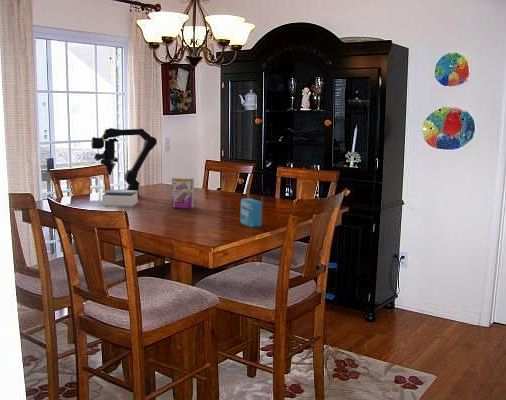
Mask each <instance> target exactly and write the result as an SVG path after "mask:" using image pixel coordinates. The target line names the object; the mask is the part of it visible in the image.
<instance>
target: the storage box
mask: <svg viewBox="0 0 506 400" xmlns="http://www.w3.org/2000/svg"><path fill="white" fill-rule="evenodd" d="M101 198H102V199H101V200H102V202H101V203H102V207H119V208H120V207H122V208H123V207H125V208H127V207H128V208H132V207H134V206H135V205H136V204H137V203H138V201H139V200H138V196H137V192H136V193H132V194H131V193H103V194H102V195H101Z"/></svg>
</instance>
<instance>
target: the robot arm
mask: <svg viewBox="0 0 506 400" xmlns="http://www.w3.org/2000/svg"><path fill="white" fill-rule="evenodd" d="M120 136H121V137H122V136H140V137H141V138H142V140H144V143H143V147H142V150H141V151H140V153H139V155H138V156H137V158H136V160H135V162H134V163H133V165H132V167H131V168H130V169H127V170H126V171H125V172H126V173H125V174H124V177H123V178H124V182H126V183H127V188H126V190H134V191H138V192H137V197H140V193H139V190H140V188H139V186H140V182H139V180H137V178H138V175H139V171H140V169H141V167H142V166H143V164H144V162H145V160H146V159H147V156H148V155H149V153H150V152H151V151H152V150H153V149H154V148H155V147H156V145H157V144H158V141H157V138H156V137H155V136H152V135H150V134H149V133H148V132H147V131H145V129H143V128H140V127H139V128H124V129H120V128H114V127H106V128H105V130H104V132H103V135H101V137H96V136H92V139H91V144H90V145H91V149H92V150H93V149H94V150H102V149H103V148H104V150H103V153H99V152H97V153H95V155H94V159H95V161H96V162H98V161H100V164H101V165H103V166H105V167H106V170H107V171H106V172H107V174H108V176H111V175H112V173H113V171H114V169H115V167H116V163H119V158H118V157H115V156H116V155H115V154H116V150H115V148H116V147H115V144H116V143H118V142H119V140H118V139H117V138H118V137H120Z"/></svg>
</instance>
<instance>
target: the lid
mask: <svg viewBox="0 0 506 400" xmlns="http://www.w3.org/2000/svg"><path fill="white" fill-rule="evenodd" d="M136 192H138V191H134V190H127V189H125V190H124V189H107V190H102V191H101V193H102V194H105V193H131V194H132V193H136Z"/></svg>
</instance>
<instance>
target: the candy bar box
mask: <svg viewBox="0 0 506 400" xmlns="http://www.w3.org/2000/svg"><path fill="white" fill-rule="evenodd" d="M194 184H195V181H194V178H193V177H192V178H191V177H178V176H174V177H172V179H171V209H189V210H190V209H191V210H193V209H194V195H195V194H194V193H195V191H194V189H195V188H194V186H195V185H194Z"/></svg>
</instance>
